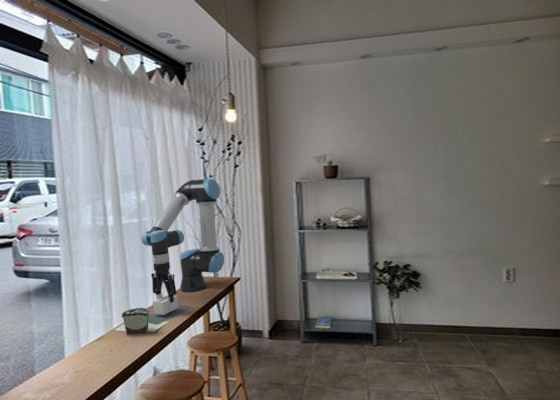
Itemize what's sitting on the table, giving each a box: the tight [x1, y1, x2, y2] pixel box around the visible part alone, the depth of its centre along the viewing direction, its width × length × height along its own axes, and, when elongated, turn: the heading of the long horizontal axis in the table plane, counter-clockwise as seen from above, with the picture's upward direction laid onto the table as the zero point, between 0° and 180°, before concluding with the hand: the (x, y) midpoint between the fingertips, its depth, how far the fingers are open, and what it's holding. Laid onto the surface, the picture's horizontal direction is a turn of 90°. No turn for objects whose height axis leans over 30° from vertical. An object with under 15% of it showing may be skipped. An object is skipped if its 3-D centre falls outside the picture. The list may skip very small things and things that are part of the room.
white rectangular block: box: [152, 294, 179, 315], centre depth 193 cm, size 10×6×6 cm, turn 150°
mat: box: [148, 304, 193, 325], centre depth 193 cm, size 24×13×1 cm, turn 150°
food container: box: [121, 307, 151, 336], centre depth 173 cm, size 12×6×10 cm, turn 84°
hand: (166, 307), depth 193 cm, fingers closed on white rectangular block, 6 cm apart
